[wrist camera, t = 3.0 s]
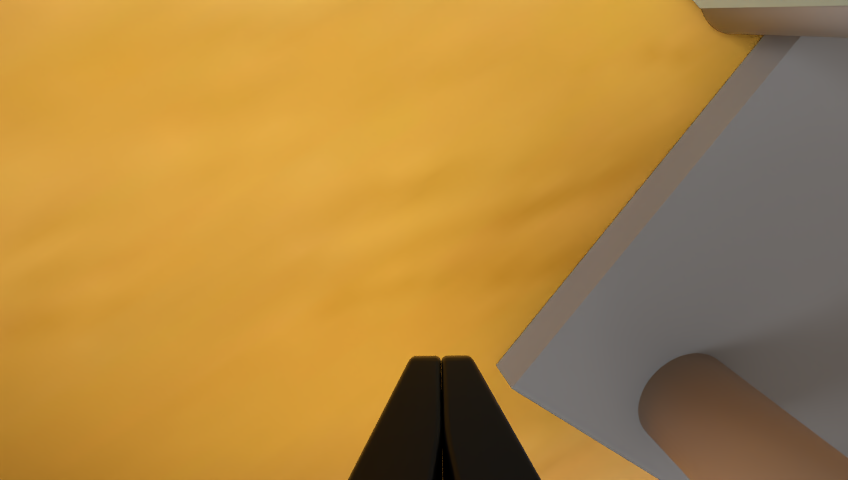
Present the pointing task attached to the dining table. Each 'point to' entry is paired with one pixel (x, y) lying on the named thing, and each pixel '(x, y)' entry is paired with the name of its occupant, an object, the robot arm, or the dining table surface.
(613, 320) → the grey peg stand
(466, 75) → the dining table surface
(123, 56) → the dining table surface
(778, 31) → the pale green flat block
